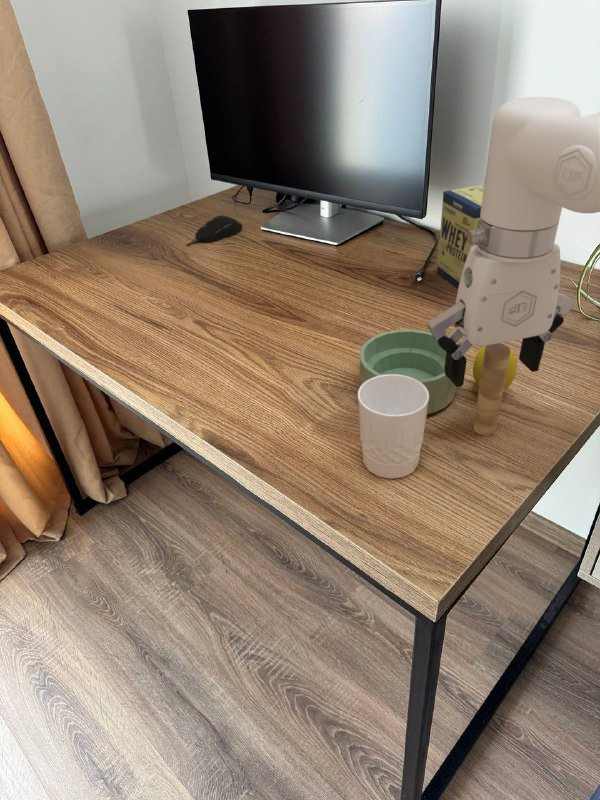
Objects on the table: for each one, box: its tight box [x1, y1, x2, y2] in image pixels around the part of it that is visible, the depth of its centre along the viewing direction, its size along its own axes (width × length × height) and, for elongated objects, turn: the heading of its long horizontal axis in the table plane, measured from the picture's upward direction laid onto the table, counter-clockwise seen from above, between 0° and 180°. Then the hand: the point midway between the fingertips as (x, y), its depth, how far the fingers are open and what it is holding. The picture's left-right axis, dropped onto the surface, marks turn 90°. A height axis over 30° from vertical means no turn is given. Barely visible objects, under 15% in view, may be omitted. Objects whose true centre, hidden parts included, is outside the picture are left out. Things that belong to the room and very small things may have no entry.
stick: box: [472, 343, 511, 437], centre depth 71 cm, size 3×3×12 cm
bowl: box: [359, 329, 458, 415], centre depth 81 cm, size 13×13×6 cm
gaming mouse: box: [186, 214, 243, 247], centre depth 133 cm, size 6×15×4 cm, turn 131°
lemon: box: [472, 342, 518, 391], centre depth 78 cm, size 6×6×8 cm
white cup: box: [357, 374, 429, 480], centre depth 68 cm, size 8×8×10 cm
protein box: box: [436, 183, 484, 289], centre depth 105 cm, size 10×16×16 cm
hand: (491, 373), depth 70 cm, fingers open, 9 cm apart
